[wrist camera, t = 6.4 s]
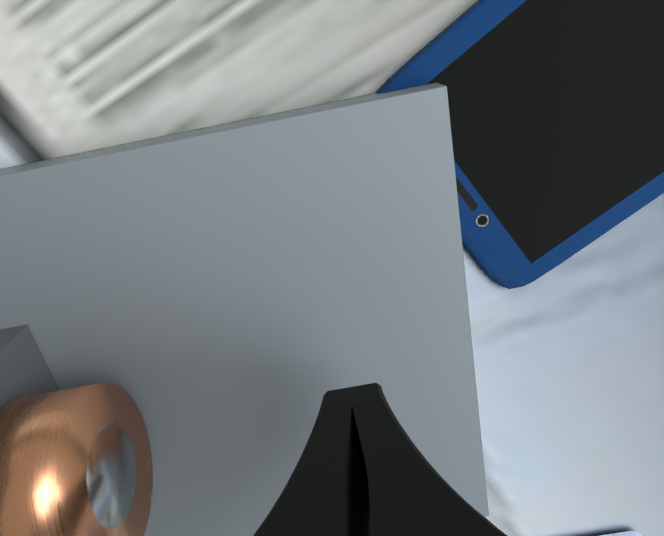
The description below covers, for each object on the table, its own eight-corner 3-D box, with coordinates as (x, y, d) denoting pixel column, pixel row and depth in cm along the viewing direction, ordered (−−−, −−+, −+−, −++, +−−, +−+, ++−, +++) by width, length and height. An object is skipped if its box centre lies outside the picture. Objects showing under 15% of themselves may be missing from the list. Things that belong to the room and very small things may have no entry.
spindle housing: (476, 481, 19) (556, 704, 13) (-139, 579, 20) (-349, 827, 14) (434, 81, 14) (536, 118, 7) (-407, 251, 15) (-957, 411, 8)
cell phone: (967, -34, 13) (1003, -38, 12) (500, 291, 17) (507, 302, 16) (877, -348, 11) (916, -374, 10) (353, 105, 14) (354, 108, 13)
